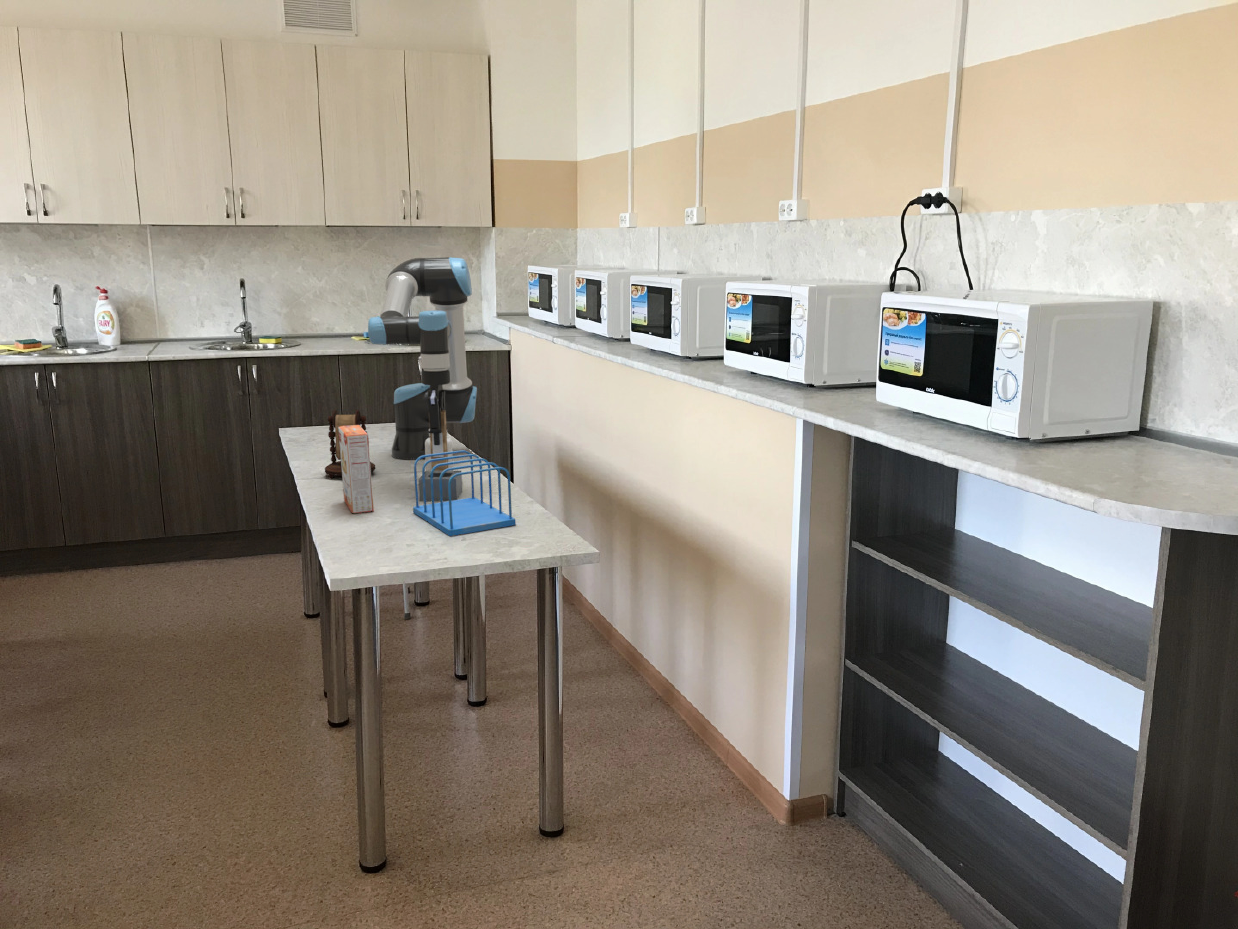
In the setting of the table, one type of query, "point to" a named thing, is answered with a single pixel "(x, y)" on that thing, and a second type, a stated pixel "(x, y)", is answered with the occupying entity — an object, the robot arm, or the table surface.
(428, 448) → the pill bottle
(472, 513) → the file sorter
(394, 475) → the table surface
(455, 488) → the grey square sleeve
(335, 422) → the scroll
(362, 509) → the cracker box
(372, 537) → the table surface
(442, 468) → the long wooden beam
